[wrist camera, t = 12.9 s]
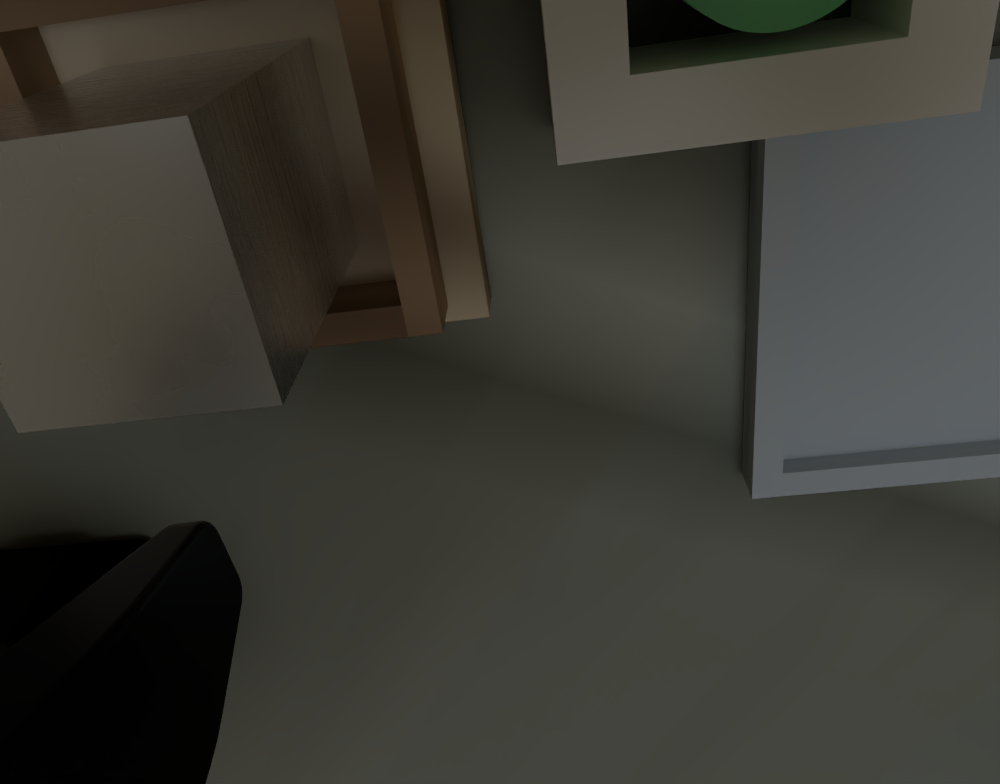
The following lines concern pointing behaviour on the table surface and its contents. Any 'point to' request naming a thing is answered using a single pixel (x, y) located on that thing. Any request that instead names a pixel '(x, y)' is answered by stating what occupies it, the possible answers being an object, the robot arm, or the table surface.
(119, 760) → the robot arm
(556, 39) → the button console
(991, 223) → the tray
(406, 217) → the pallet board
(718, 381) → the table surface
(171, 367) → the block
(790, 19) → the button
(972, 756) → the table surface
